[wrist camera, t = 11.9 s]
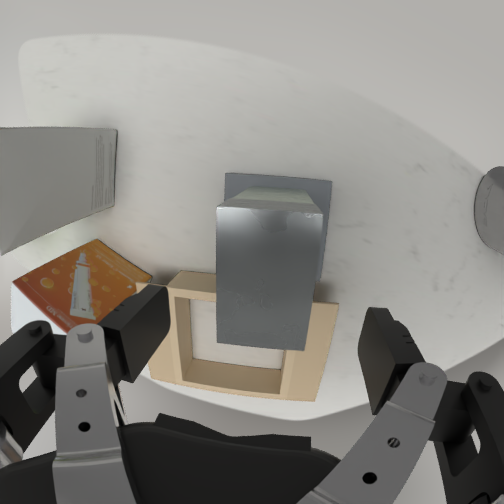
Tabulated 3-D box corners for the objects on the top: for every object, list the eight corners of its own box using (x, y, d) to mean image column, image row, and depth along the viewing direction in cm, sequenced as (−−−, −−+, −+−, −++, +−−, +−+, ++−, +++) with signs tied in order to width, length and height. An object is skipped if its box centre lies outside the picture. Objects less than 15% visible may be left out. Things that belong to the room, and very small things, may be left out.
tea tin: (305, 189, 23) (323, 214, 12) (298, 268, 25) (304, 350, 14) (250, 185, 24) (216, 206, 12) (247, 264, 26) (216, 342, 15)
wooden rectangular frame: (332, 285, 26) (339, 304, 23) (313, 377, 30) (314, 401, 26) (153, 267, 28) (135, 282, 24) (163, 357, 32) (151, 378, 28)
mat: (330, 181, 24) (332, 181, 23) (319, 278, 26) (319, 281, 26) (227, 173, 24) (225, 173, 24) (224, 269, 27) (222, 272, 26)
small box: (154, 275, 28) (80, 345, 16) (136, 317, 30) (73, 389, 18) (96, 236, 28) (9, 280, 16) (83, 279, 30) (10, 332, 18)
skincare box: (75, 132, 25) (-42, 135, 10) (122, 128, 24) (-6, 120, 9) (72, 206, 27) (-39, 245, 12) (117, 210, 27) (-3, 259, 12)
